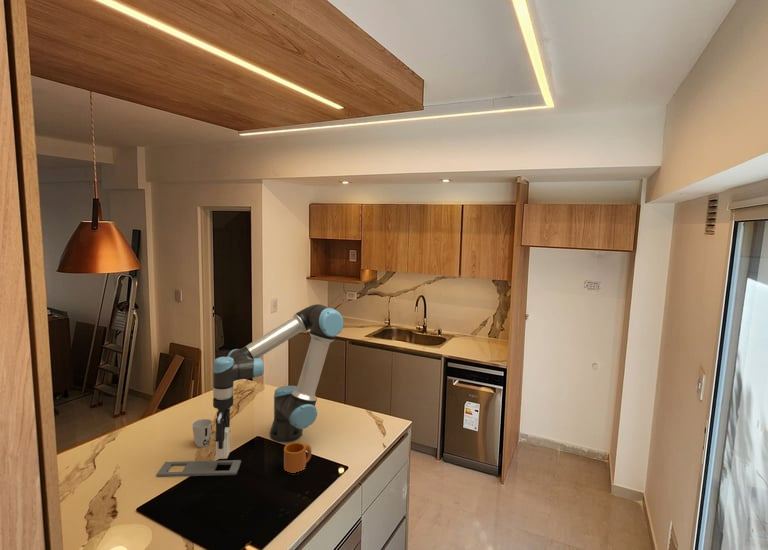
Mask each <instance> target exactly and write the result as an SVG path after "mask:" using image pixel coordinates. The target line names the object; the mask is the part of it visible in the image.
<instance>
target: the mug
mask: <svg viewBox="0 0 768 550" xmlns="http://www.w3.org/2000/svg"><path fill="white" fill-rule="evenodd" d="M311 458H312V447H311V446H310V445H309V444H305V443H303V442H299V441H296V442H294V441H293V442H290V443H288V444H286V445H285V446H284V447H283V470H285V471H287V472H290V473H296V472H299V471H302V470H304V469H305V470H306V468H305V467H307V463H309V461H310V459H311ZM305 470H304V471H305ZM285 471H284V472H285Z"/></svg>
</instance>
